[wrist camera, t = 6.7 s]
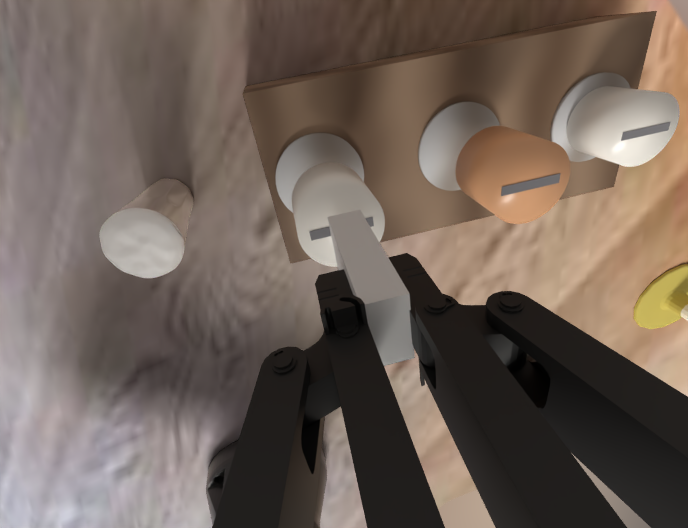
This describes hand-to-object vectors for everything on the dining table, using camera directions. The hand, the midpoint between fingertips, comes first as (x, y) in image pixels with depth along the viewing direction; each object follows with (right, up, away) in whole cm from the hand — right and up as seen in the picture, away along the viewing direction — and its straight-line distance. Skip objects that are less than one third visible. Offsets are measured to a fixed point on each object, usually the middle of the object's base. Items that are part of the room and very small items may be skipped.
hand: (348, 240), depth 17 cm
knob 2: (+18, +9, +9) cm, 22 cm away
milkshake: (-13, +4, +12) cm, 19 cm away
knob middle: (+9, +5, +5) cm, 11 cm away
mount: (+7, +10, +13) cm, 18 cm away
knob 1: (-1, +3, +5) cm, 5 cm away
